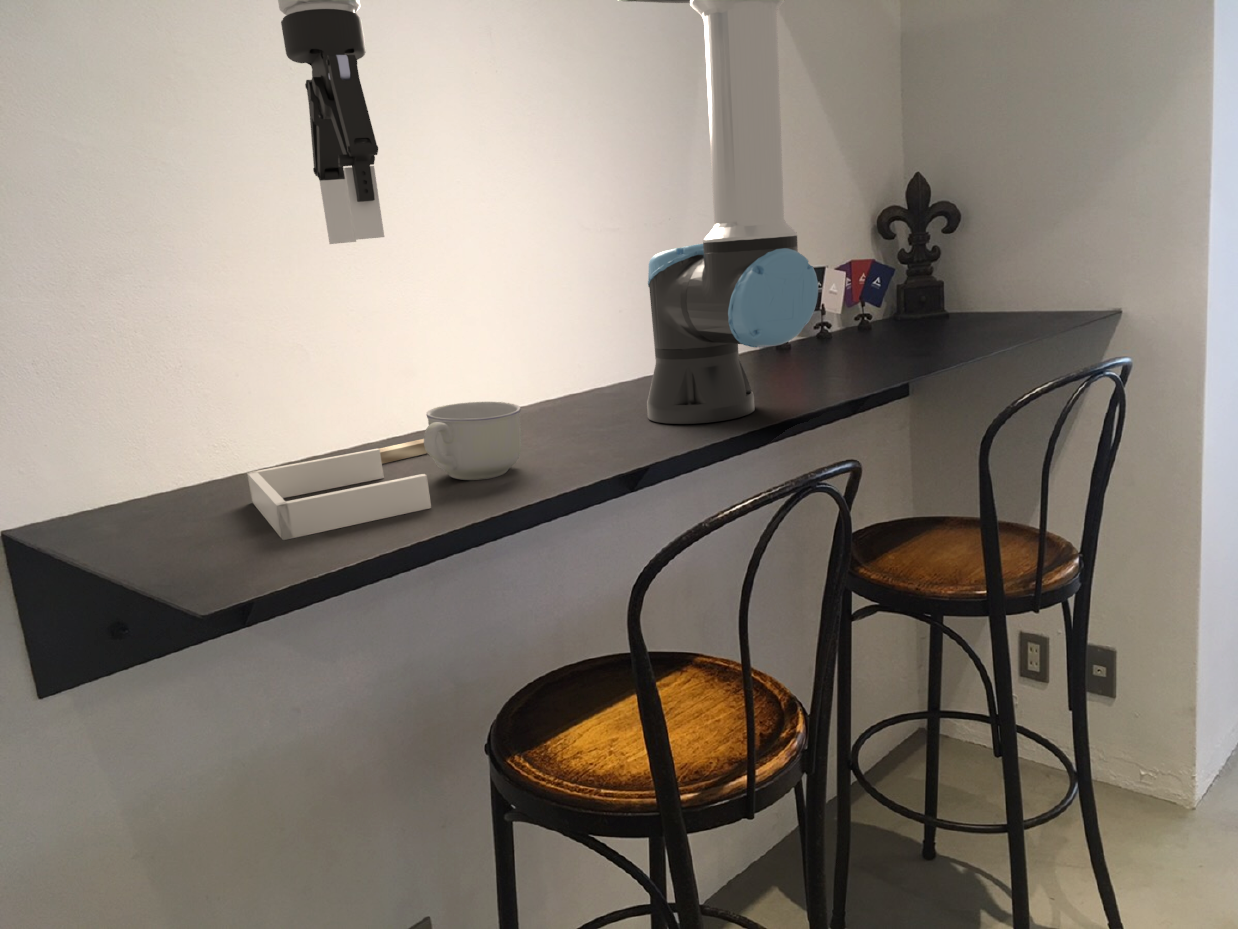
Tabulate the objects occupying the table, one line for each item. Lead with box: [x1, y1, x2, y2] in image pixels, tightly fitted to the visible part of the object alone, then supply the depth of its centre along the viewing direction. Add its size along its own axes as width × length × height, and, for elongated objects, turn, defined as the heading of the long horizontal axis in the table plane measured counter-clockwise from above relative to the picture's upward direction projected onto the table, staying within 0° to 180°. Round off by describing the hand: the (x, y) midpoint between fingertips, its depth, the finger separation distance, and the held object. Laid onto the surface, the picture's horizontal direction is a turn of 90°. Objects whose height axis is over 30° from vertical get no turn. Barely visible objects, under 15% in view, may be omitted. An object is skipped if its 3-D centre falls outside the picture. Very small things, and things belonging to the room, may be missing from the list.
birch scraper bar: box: [378, 438, 428, 465], centre depth 127 cm, size 23×2×2 cm, turn 129°
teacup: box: [423, 401, 522, 481], centre depth 112 cm, size 14×11×8 cm
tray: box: [246, 448, 432, 541], centre depth 105 cm, size 15×19×4 cm
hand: (355, 241), depth 98 cm, fingers open, 13 cm apart
